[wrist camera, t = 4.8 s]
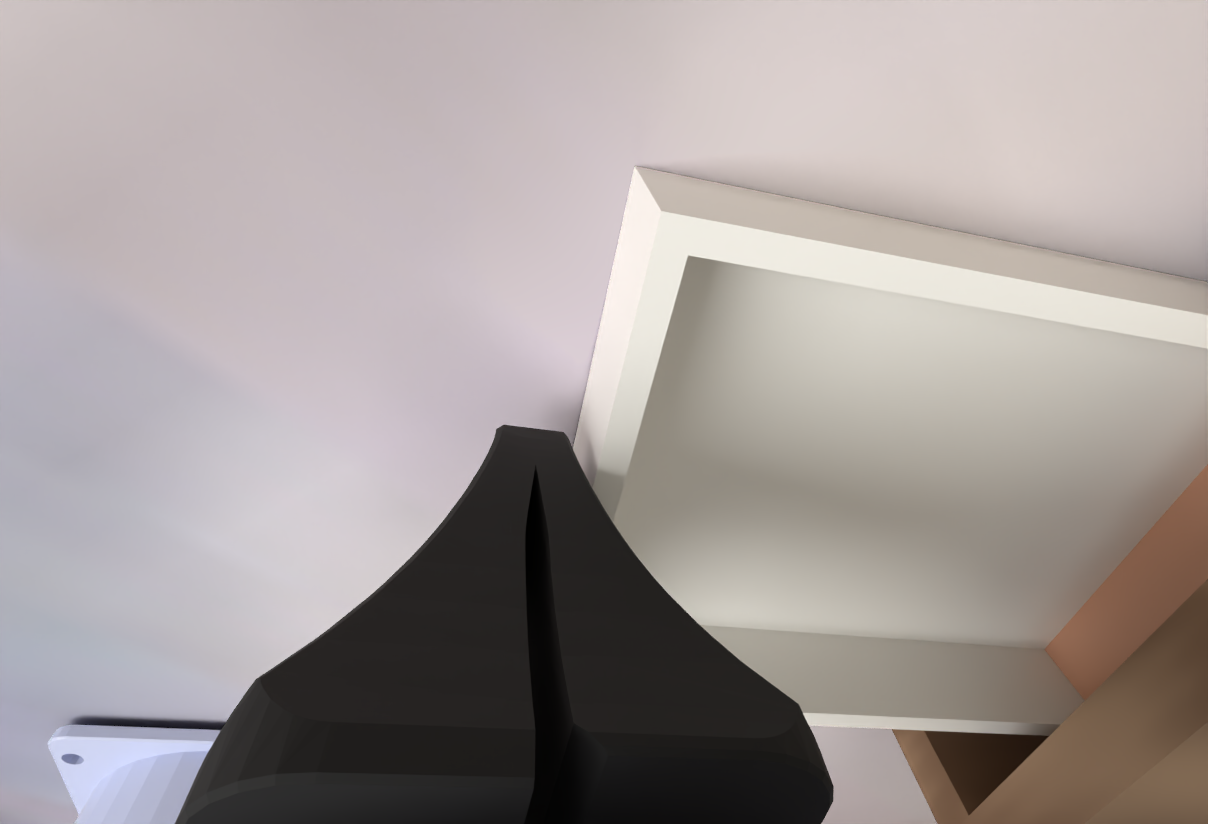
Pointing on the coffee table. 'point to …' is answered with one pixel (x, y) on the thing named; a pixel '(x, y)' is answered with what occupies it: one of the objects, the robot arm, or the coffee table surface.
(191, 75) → the coffee table surface
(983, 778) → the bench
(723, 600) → the white open tray
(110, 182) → the coffee table surface
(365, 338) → the coffee table surface
